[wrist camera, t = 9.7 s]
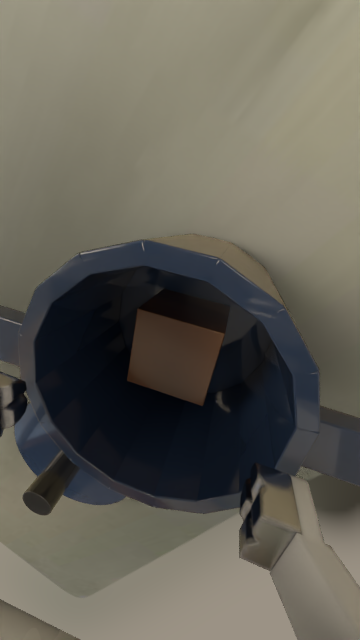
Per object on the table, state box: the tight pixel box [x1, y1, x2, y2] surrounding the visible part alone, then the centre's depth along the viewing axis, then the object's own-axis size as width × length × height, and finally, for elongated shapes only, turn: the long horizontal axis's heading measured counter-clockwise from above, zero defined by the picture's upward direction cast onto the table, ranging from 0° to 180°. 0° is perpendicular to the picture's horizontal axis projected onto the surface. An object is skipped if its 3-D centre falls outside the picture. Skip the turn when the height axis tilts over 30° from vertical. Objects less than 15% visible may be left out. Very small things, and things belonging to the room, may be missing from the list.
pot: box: [0, 234, 360, 514], centre depth 14 cm, size 12×17×8 cm
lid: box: [14, 402, 126, 515], centre depth 22 cm, size 13×13×6 cm
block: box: [127, 289, 230, 406], centre depth 15 cm, size 4×4×4 cm
